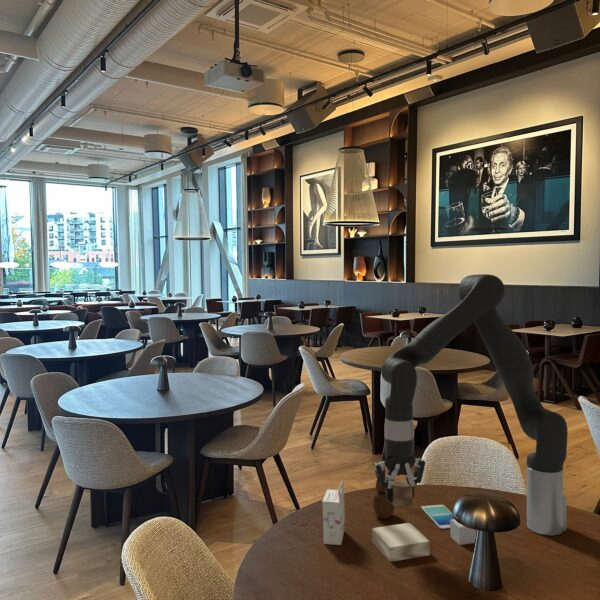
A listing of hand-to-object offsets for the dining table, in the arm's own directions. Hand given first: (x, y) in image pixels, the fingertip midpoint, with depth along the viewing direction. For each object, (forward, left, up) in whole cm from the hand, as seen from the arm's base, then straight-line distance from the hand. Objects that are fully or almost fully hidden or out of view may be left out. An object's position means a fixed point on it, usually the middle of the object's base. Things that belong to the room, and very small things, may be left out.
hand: (399, 500), depth 142 cm
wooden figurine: (-3, -19, -13) cm, 23 cm away
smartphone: (-19, -14, -13) cm, 27 cm away
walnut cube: (0, 0, -1) cm, 1 cm away
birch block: (0, 0, -13) cm, 13 cm away
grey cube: (-18, 0, -13) cm, 22 cm away
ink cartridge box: (+15, -10, -13) cm, 22 cm away
